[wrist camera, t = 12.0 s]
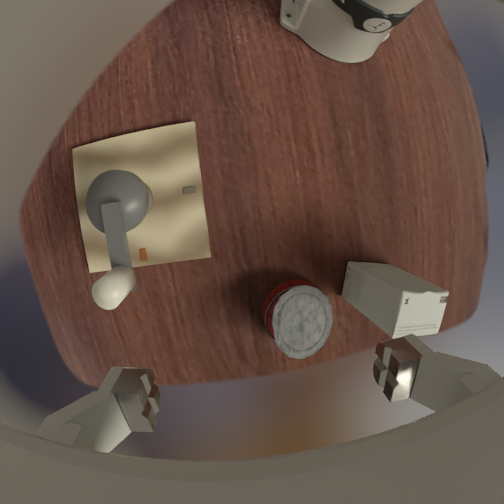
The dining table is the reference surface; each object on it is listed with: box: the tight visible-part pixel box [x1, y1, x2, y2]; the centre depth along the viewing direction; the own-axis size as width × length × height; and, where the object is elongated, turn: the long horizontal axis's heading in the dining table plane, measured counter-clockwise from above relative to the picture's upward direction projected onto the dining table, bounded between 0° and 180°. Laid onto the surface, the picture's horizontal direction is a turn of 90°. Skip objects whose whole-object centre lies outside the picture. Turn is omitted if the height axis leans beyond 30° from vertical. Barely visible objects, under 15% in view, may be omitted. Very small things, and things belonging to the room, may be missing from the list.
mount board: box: [72, 121, 211, 273], centre depth 34 cm, size 18×18×7 cm
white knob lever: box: [85, 170, 149, 310], centre depth 27 cm, size 7×13×8 cm, turn 6°
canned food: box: [263, 279, 333, 359], centre depth 40 cm, size 11×10×10 cm
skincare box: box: [342, 261, 449, 338], centre depth 36 cm, size 8×6×15 cm
